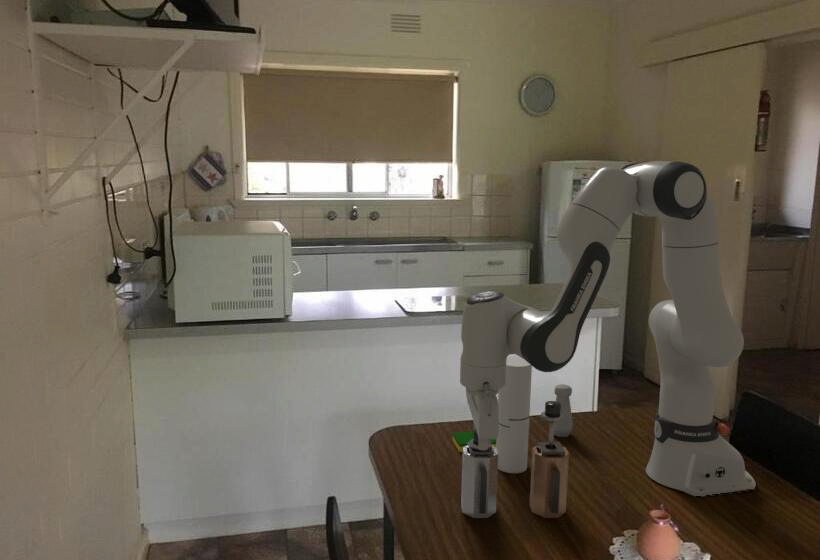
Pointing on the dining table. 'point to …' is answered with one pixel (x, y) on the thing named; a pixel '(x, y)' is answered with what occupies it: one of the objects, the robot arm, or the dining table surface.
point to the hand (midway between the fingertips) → (480, 441)
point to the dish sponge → (466, 440)
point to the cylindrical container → (514, 416)
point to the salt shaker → (563, 411)
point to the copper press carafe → (549, 480)
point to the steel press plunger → (474, 441)
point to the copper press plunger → (552, 418)
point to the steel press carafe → (479, 482)
